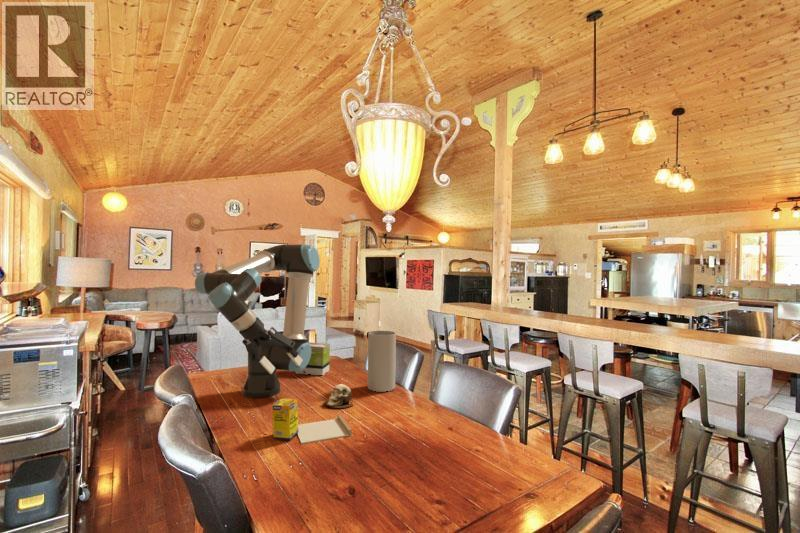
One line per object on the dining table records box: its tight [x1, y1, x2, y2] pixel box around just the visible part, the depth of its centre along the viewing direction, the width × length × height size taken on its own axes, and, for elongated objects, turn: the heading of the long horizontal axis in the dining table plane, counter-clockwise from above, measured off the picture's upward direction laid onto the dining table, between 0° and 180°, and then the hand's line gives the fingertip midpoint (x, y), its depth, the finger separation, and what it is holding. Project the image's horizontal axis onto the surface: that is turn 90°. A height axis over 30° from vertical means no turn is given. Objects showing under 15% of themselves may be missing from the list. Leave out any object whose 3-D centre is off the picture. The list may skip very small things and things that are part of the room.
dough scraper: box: [296, 414, 352, 445], centre depth 126 cm, size 16×14×2 cm
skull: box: [323, 383, 354, 409], centre depth 151 cm, size 12×10×10 cm
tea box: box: [294, 341, 331, 376], centre depth 195 cm, size 15×10×15 cm, turn 81°
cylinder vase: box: [367, 330, 397, 393], centre depth 172 cm, size 12×12×25 cm
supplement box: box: [271, 398, 299, 441], centre depth 121 cm, size 6×6×11 cm
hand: (286, 367), depth 135 cm, fingers open, 13 cm apart
